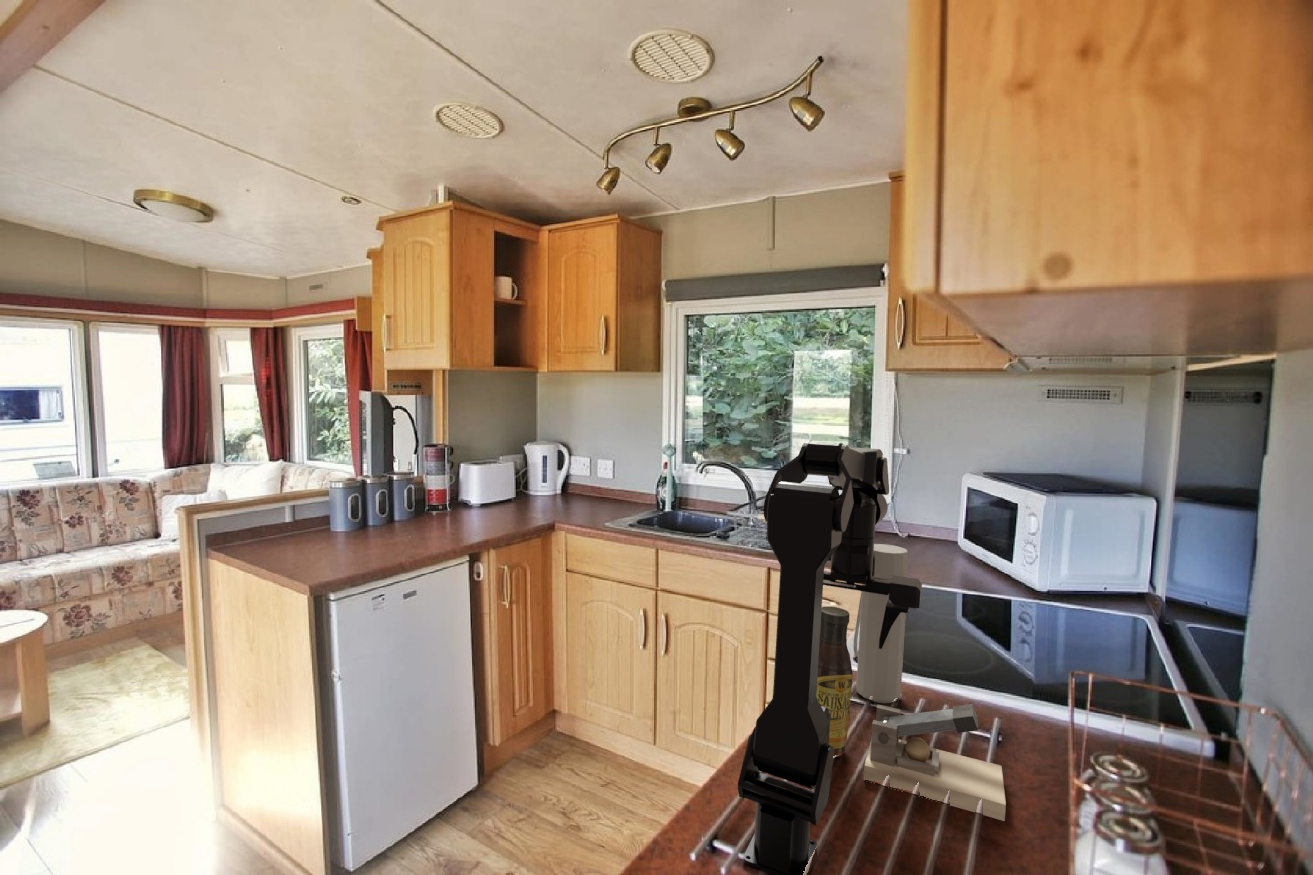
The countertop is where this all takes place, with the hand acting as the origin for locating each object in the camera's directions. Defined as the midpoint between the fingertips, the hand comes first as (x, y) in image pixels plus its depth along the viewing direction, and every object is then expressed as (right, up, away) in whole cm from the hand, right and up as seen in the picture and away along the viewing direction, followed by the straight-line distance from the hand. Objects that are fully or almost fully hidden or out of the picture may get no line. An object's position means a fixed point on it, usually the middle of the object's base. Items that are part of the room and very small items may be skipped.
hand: (847, 641), depth 89 cm
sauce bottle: (-4, -15, -2) cm, 15 cm away
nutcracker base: (+8, -15, -9) cm, 20 cm away
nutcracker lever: (+8, -9, -9) cm, 15 cm away
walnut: (+7, -12, -8) cm, 16 cm away
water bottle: (+9, -14, +15) cm, 23 cm away
